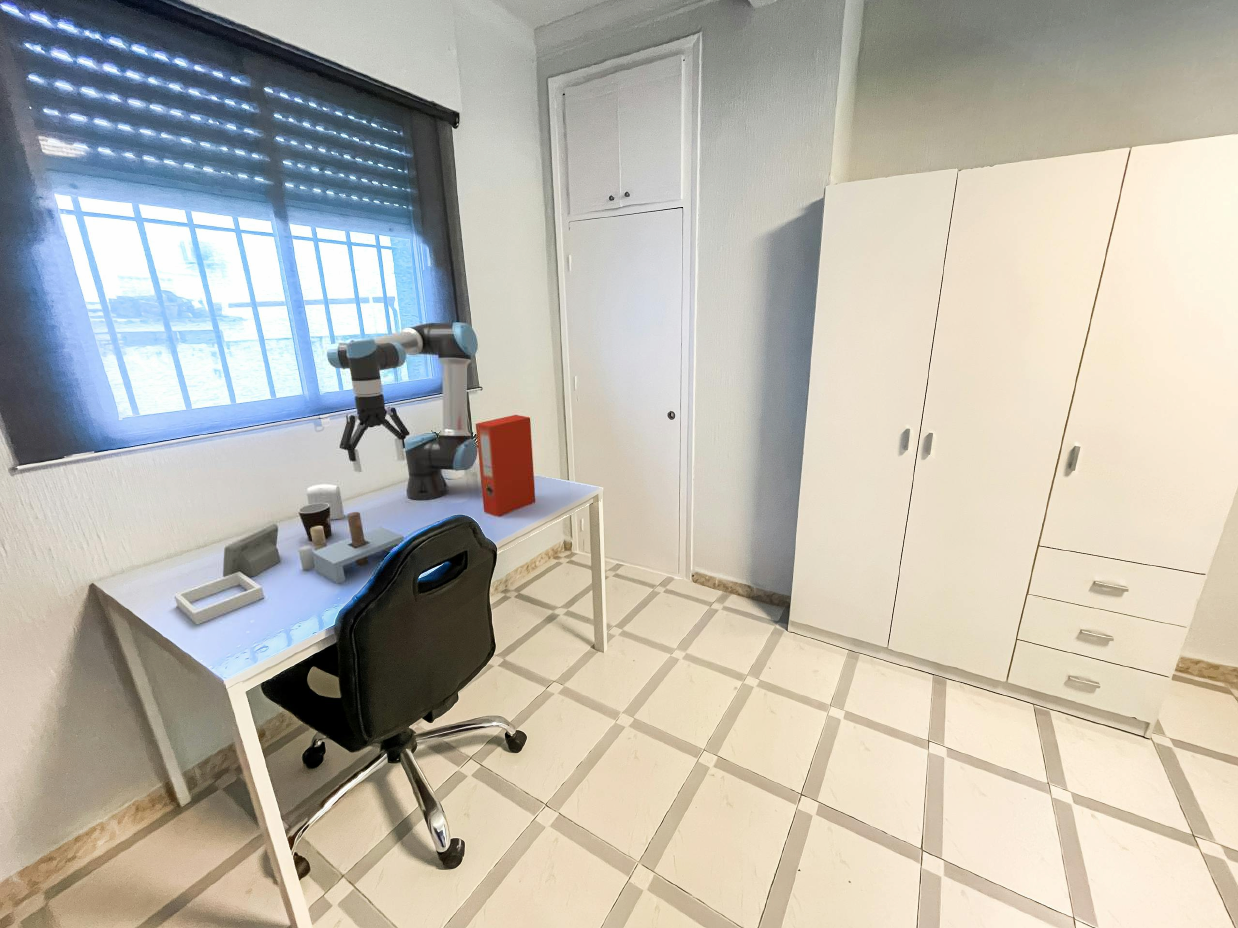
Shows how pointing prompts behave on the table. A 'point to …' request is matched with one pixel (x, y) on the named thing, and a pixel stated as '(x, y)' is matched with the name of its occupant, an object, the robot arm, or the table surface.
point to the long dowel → (357, 534)
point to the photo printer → (327, 498)
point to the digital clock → (252, 552)
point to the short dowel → (306, 557)
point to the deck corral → (222, 606)
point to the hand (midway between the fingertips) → (380, 465)
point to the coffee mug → (316, 518)
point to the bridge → (352, 552)
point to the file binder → (506, 464)
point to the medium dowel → (318, 537)
